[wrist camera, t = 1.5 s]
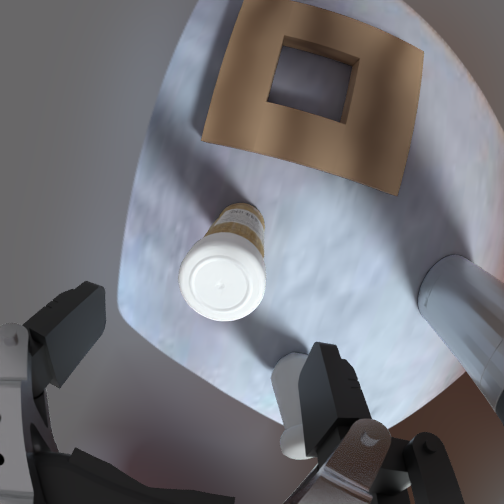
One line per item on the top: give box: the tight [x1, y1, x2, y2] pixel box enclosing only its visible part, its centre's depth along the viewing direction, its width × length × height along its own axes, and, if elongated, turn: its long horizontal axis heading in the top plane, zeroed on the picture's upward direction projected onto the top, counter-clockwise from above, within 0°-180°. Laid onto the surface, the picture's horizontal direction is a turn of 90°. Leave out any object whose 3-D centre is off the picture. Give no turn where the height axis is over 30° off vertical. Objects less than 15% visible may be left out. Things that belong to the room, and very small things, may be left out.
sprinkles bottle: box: [178, 203, 266, 321], centre depth 20 cm, size 5×5×13 cm
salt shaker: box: [271, 352, 312, 460], centre depth 25 cm, size 6×6×13 cm
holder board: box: [201, 0, 424, 196], centre depth 21 cm, size 18×16×2 cm
